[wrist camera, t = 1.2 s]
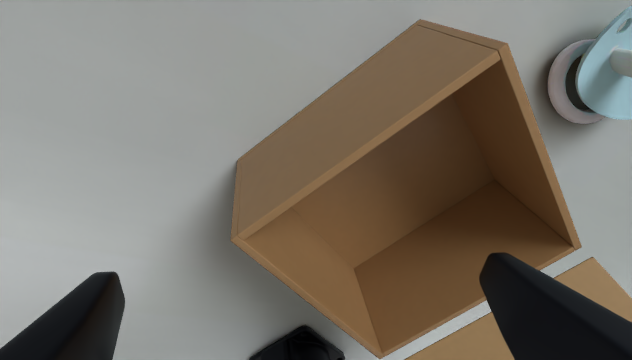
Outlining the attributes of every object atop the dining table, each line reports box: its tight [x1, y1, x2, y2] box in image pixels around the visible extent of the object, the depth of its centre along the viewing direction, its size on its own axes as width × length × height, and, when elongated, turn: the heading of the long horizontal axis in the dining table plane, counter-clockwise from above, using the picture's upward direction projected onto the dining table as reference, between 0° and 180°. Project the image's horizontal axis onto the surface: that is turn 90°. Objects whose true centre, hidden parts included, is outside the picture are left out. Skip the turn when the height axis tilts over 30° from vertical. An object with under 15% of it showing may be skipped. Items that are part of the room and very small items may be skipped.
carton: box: [230, 19, 582, 359], centre depth 19 cm, size 13×13×7 cm
